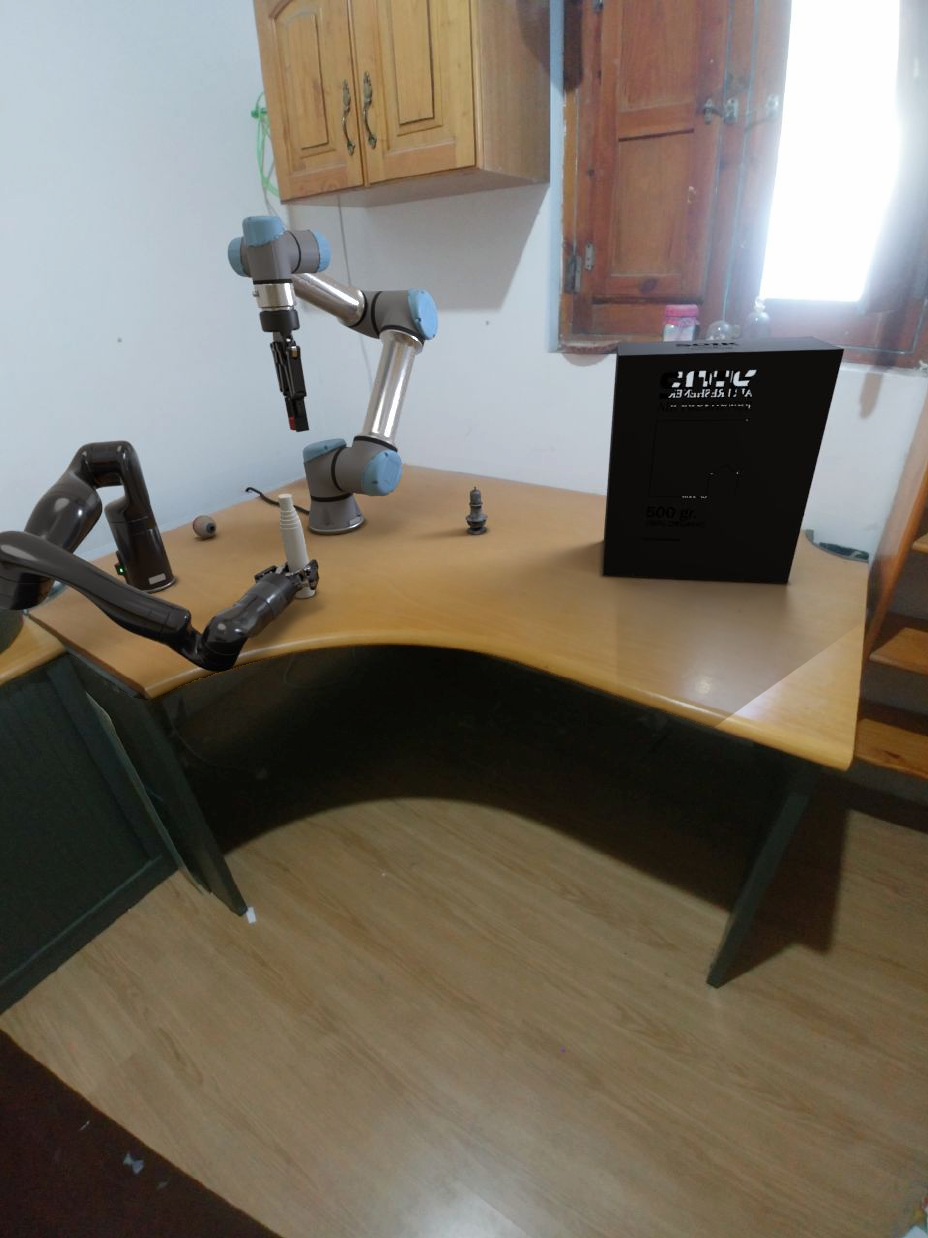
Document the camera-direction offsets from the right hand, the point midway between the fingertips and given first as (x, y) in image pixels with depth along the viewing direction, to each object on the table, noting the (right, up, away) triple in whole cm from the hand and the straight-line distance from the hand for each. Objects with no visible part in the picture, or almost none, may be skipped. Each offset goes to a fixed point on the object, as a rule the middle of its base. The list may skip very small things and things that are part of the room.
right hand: (299, 428), depth 132 cm
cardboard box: (+87, -28, +7) cm, 92 cm away
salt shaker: (+39, -18, +29) cm, 52 cm away
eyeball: (-35, -19, +35) cm, 53 cm away
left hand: (+1, -29, +1) cm, 29 cm away
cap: (0, +2, -1) cm, 2 cm away
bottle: (+1, -36, +2) cm, 36 cm away
